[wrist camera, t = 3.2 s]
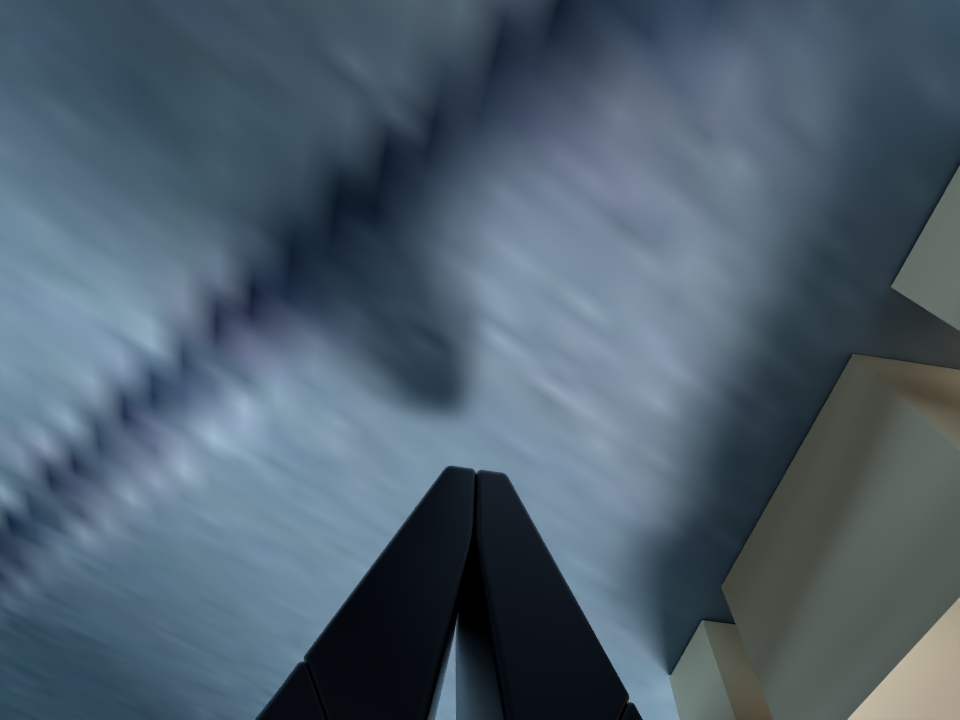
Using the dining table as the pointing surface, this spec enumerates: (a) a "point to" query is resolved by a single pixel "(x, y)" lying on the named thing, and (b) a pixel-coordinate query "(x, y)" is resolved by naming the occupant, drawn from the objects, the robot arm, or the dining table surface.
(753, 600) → the beech collar
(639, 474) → the dining table surface
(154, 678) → the dining table surface
